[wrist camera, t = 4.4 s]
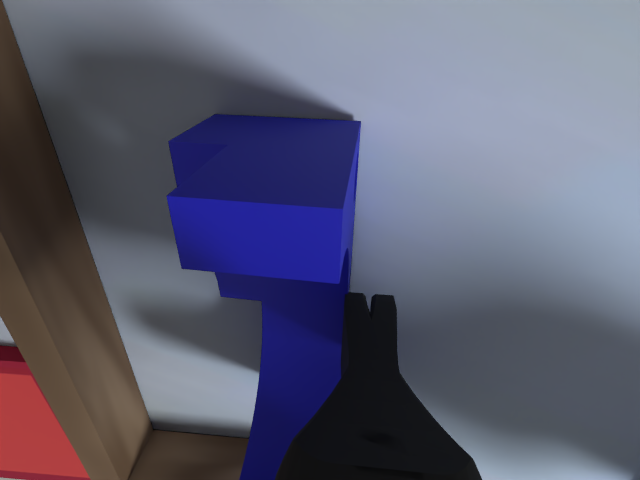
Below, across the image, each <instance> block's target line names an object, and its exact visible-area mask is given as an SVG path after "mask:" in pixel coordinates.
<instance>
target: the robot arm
mask: <svg viewBox="0 0 640 480" xmlns="http://www.w3.org/2000/svg"><path fill="white" fill-rule="evenodd" d="M275 480H482V478H481V476H480V473H479V471H478V469H477V467H476V464H475V462H474V460H473V458H472V457H471V456H470V455H469V454H468V453H466V452H465V451H464V450H463V449H462V448H461V447H460V446H459V445H458V444H457V443H456V442H455V441H454V440H453V439H452V438H451V436H450V435H449V434H448V433H447V432H446V431H445V430H444V429H443V428H442V427H441V426H440V424H439V423H438V422H437V421H436V420H435V419H434V418H433V417H432V415H431V414H430V413H429V412H428V410H427V409H426V408H425V407H424V405H423V404H422V403H421V402H420V400H419V399H418V398H417V397H416V395H415V394H414V393H413V391H412V390H411V389H410V387H409V386H408V384H407V383H406V381H405V380H404V378H403V377H402V375H401V374H400V372H399V366H398V358H397V309H396V304H395V300H394V296H392V295H378V294H375V295H374V296H372V300H371V310H370V312H369V309H368V305H367V301H366V296H365V295H364V294H363V293H351V292H348V294H345V299H344V315H343V331H342V347H341V379H340V380H339V382H338V384H337V385H336V387H335V388H334V390H333V391H332V393H331V394H330V395H329V397H328V398H327V399H326V401H325V402H324V403H323V404H322V406H321V407H320V408H319V410H318V411H317V412H316V413H315V415H314V416H313V417H312V418H311V419H310V420H309V422H308V423H307V424H306V425H305V426H304V427H303V428H302V429H301V430H300V431H299V432H298V434H297V435H296V436H295V437H294V438H293V440H292V442H291V444H290V446H289V448H288V450H287V452H286V454H285V456H284V458H283V460H282V462H281V464H280V467H279V469H278V471H277V474H276V477H275Z"/></svg>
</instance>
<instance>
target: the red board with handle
mask: <svg viewBox="0 0 640 480" xmlns="http://www.w3.org/2000/svg"><path fill="white" fill-rule="evenodd" d="M0 477H3V478H14V479H25V480H91V479H90V477H89V476H88V474H87V472H86V470H85V468H84V466H83V465H82V463H81V461H80V459H79V457H78V456H77V454H76V452H75V450H74V448H73V447H72V445H71V443H70V441H69V439H68V438H67V436H66V434H65V432H64V430H63V428H62V427H61V425H60V423H59V421H58V419H57V418H56V416H55V414H54V412H53V410H52V409H51V407H50V405H49V403H48V401H47V399H46V398H45V396H44V394H43V392H42V390H41V389H40V387H39V385H38V383H37V381H36V380H35V378H34V376H33V374H32V372H31V371H30V369H29V367H28V365H27V363H26V361H25V360H24V358H23V356H22V354H21V352H20V351H19V349H18V347H11V346H0Z"/></svg>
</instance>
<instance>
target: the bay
mask: <svg viewBox="0 0 640 480" xmlns="http://www.w3.org/2000/svg"><path fill="white" fill-rule="evenodd" d="M0 316H1V318H2V320H3V322H4V323H5V325H6V327H7V329H8V331H9V332H10V334H11V336H12V338H13V340H14V342H15V343H16V345H17V347H18V349H19V351H20V352H21V354H22V356H23V358H24V360H25V361H26V363H27V365H28V367H29V369H30V371H31V372H32V374H33V376H34V378H35V380H36V381H37V383H38V385H39V387H40V389H41V390H42V392H43V394H44V396H45V398H46V399H47V401H48V403H49V405H50V407H51V409H52V410H53V412H54V414H55V416H56V418H57V419H58V421H59V423H60V425H61V427H62V428H63V430H64V432H65V434H66V436H67V438H68V439H69V441H70V443H71V445H72V447H73V448H74V450H75V452H76V454H77V456H78V457H79V459H80V461H81V463H82V465H83V466H84V468H85V470H86V472H87V474H88V476H89V477H90V479H91V480H239V478H240V475H241V471H242V467H243V463H244V459H245V454H246V450H247V446H248V441H249V439H246V438H235V437H224V436H213V435H202V434H192V433H181V432H170V431H159V430H153V427H152V424H151V422H150V419H149V416H148V413H147V410H146V407H145V405H144V402H143V399H142V396H141V393H140V390H139V388H138V385H137V382H136V379H135V376H134V373H133V370H132V368H131V365H130V362H129V359H128V356H127V353H126V351H125V348H124V345H123V342H122V339H121V336H120V334H119V331H118V328H117V325H116V322H115V319H114V317H113V314H112V311H111V308H110V305H109V302H108V300H107V297H106V294H105V291H104V288H103V285H102V283H101V280H100V277H99V274H98V271H97V268H96V266H95V263H94V260H93V257H92V254H91V251H90V249H89V246H88V243H87V240H86V237H85V234H84V232H83V229H82V226H81V223H80V220H79V217H78V215H77V212H76V209H75V206H74V203H73V200H72V198H71V195H70V192H69V189H68V186H67V183H66V180H65V178H64V175H63V172H62V169H61V166H60V163H59V161H58V158H57V155H56V152H55V149H54V146H53V144H52V141H51V138H50V135H49V132H48V129H47V127H46V124H45V121H44V118H43V115H42V112H41V110H40V107H39V104H38V101H37V98H36V95H35V93H34V90H33V87H32V84H31V81H30V78H29V76H28V73H27V70H26V67H25V64H24V61H23V59H22V56H21V53H20V50H19V47H18V44H17V42H16V39H15V36H14V33H13V30H12V27H11V25H10V22H9V19H8V16H7V13H6V10H5V8H4V5H3V2H2V0H0Z"/></svg>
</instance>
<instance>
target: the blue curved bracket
mask: <svg viewBox="0 0 640 480" xmlns="http://www.w3.org/2000/svg"><path fill="white" fill-rule="evenodd" d="M360 128H361V121H347V120H327V119H306V118H285V117H265V116H244V115H223V114H214V115H213V116H211V117H209V118H208V119H206V120H204V121H202V122H201V123H199V124H197V125H196V126H194V127H192V128H190V129H189V130H187V131H185V132H184V133H182V134H180V135H178V136H177V137H175V138H173V139H172V140H170V141H168V142H169V148H170V153H171V158H172V163H173V168H174V174H175V179H176V184H177V188H175V189H174V190H173V191H172V192H171V193H169V194H168V195H167V201H168V206H169V210H170V215H171V220H172V225H173V229H174V234H175V239H176V244H177V249H178V253H179V258H180V263H181V268H182V269H191V270H201V271H211V272H215V275H216V278H217V281H218V286H219V290H220V296H221V297H228V298H238V299H247V300H257V301H262V352H261V365H260V374H259V383H258V391H257V398H256V404H255V410H254V416H253V421H252V426H251V431H250V436H249V441H248V446H247V450H246V454H245V459H244V463H243V467H242V471H241V475H240V478H239V480H275V477H276V474H277V471H278V469H279V467H280V464H281V462H282V460H283V458H284V456H285V454H286V452H287V450H288V448H289V446H290V444H291V442H292V440H293V438H294V437H295V436H296V435H297V434H298V432H299V431H300V430H301V429H302V428H303V427H304V426H305V425H306V424H307V423H308V422H309V420H310V419H311V418H312V417H313V416H314V415H315V413H316V412H317V411H318V410H319V408H320V407H321V406H322V404H323V403H324V402H325V401H326V399H327V398H328V397H329V395H330V394H331V393H332V391H333V390H334V388H335V387H336V385H337V384H338V382H339V380H340V379H341V347H342V331H343V315H344V299H345V294H348V292H349V288H350V274H351V259H352V244H353V230H354V215H355V201H356V186H357V171H358V157H359V142H360Z"/></svg>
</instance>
